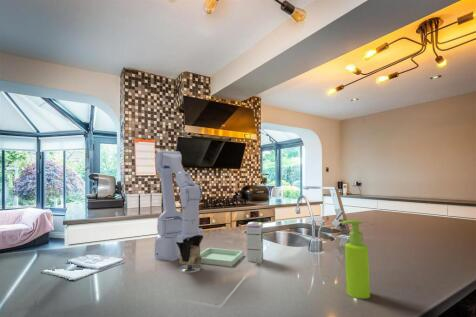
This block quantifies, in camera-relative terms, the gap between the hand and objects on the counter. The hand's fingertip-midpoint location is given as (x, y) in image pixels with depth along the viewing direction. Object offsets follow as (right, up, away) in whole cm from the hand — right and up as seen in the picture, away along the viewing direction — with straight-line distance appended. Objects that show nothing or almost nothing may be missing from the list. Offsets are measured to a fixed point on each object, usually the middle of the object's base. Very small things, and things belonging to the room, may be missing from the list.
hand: (189, 258), depth 88 cm
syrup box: (+24, -5, +9) cm, 26 cm away
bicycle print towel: (-39, -5, +2) cm, 39 cm away
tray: (+10, -5, +10) cm, 15 cm away
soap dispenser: (+50, -3, -19) cm, 53 cm away
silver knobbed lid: (0, -4, 0) cm, 4 cm away
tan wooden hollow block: (0, -1, 0) cm, 1 cm away
